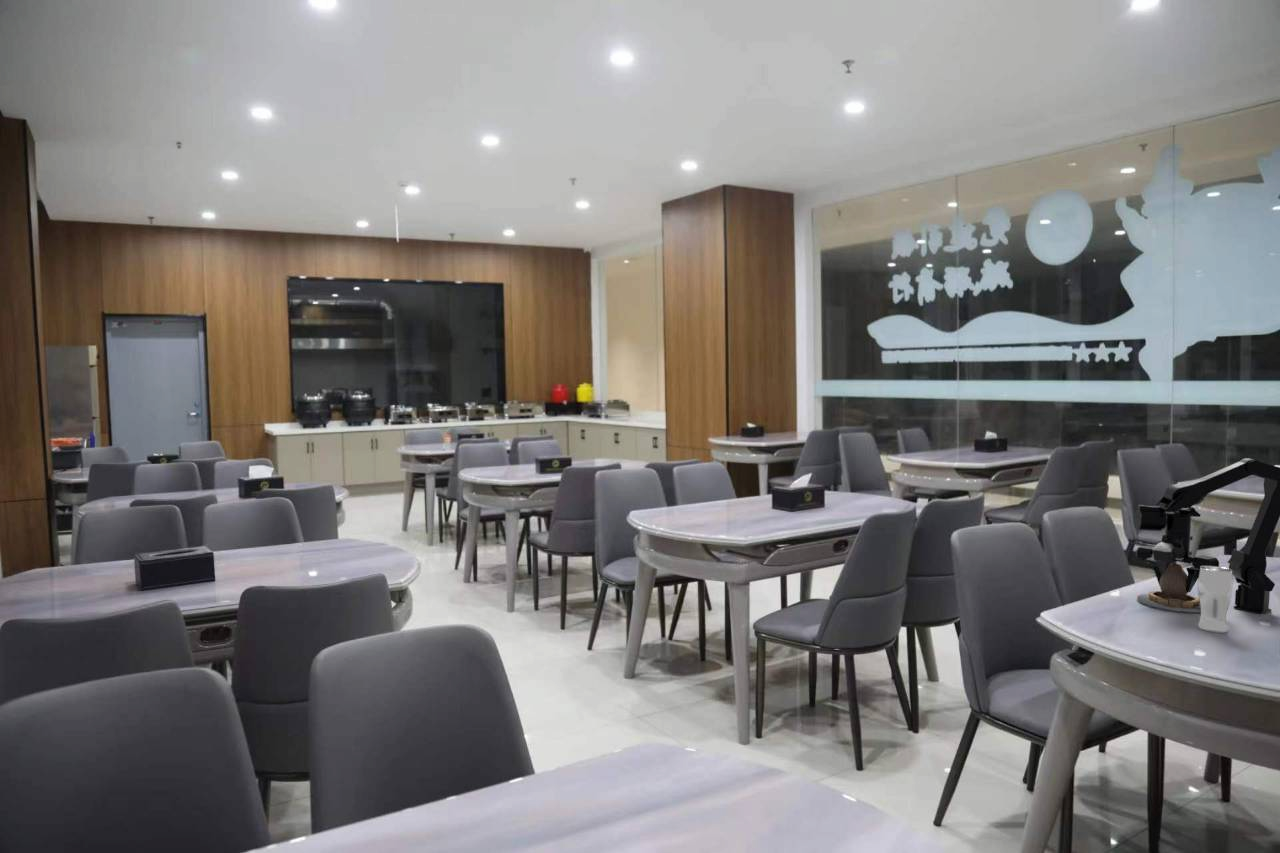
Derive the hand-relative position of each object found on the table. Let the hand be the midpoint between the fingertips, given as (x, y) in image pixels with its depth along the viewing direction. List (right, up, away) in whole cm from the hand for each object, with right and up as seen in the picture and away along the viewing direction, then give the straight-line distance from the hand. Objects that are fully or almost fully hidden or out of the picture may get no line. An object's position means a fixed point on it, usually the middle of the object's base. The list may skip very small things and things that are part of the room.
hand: (1174, 589), depth 231 cm
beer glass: (-5, -6, -23) cm, 24 cm away
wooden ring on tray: (0, -4, 0) cm, 4 cm away
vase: (0, -2, 0) cm, 2 cm away
